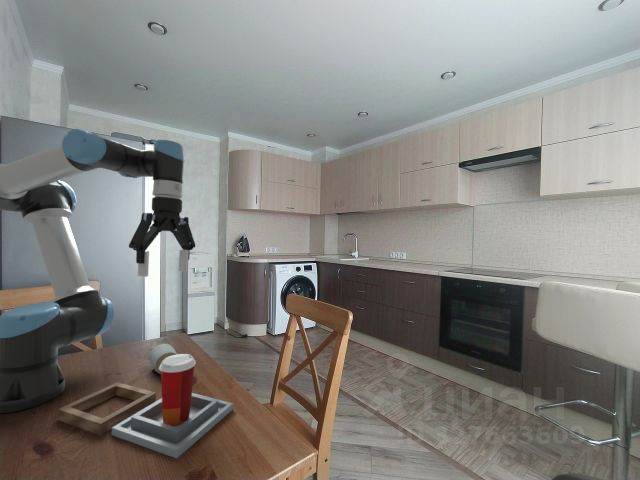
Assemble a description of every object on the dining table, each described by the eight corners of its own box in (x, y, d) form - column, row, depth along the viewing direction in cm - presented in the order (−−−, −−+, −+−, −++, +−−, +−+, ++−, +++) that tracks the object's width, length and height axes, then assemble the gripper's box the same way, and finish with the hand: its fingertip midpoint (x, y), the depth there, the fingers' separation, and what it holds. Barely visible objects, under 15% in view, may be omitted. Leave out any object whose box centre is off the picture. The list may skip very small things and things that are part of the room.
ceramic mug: (154, 379, 89) (156, 353, 89) (147, 369, 95) (149, 345, 95) (190, 370, 96) (192, 346, 96) (182, 361, 102) (183, 339, 102)
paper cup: (188, 405, 75) (190, 350, 75) (198, 421, 69) (200, 361, 69) (153, 416, 70) (155, 357, 70) (161, 434, 64) (163, 369, 64)
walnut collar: (57, 419, 68) (58, 409, 68) (117, 391, 81) (117, 382, 81) (100, 435, 64) (100, 423, 64) (155, 402, 77) (156, 392, 77)
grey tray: (111, 435, 64) (112, 420, 64) (177, 394, 81) (177, 383, 81) (176, 458, 58) (177, 442, 58) (232, 409, 75) (233, 397, 75)
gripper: (136, 190, 70) (133, 279, 70) (209, 203, 93) (206, 270, 93) (113, 190, 72) (110, 277, 72) (190, 203, 96) (187, 268, 96)
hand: (164, 273), depth 83 cm, fingers open, 13 cm apart
